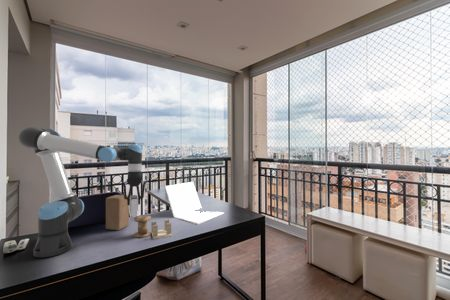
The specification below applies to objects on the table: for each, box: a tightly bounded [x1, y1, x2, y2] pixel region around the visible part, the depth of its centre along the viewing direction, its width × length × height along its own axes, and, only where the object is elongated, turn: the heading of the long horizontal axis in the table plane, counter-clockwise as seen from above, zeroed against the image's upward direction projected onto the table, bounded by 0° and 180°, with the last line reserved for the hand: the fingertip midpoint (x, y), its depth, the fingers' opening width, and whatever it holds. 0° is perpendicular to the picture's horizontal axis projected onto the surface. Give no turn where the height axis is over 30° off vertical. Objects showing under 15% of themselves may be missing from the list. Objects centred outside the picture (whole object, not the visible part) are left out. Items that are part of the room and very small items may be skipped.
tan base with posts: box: [150, 219, 172, 240], centre depth 126 cm, size 10×10×7 cm
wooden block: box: [105, 194, 130, 231], centre depth 138 cm, size 10×10×20 cm
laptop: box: [164, 181, 224, 225], centre depth 164 cm, size 30×35×23 cm
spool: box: [133, 215, 152, 239], centre depth 126 cm, size 9×9×10 cm
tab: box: [129, 194, 138, 218], centre depth 128 cm, size 3×9×11 cm, turn 26°
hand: (133, 210), depth 128 cm, fingers closed on tab, 3 cm apart
